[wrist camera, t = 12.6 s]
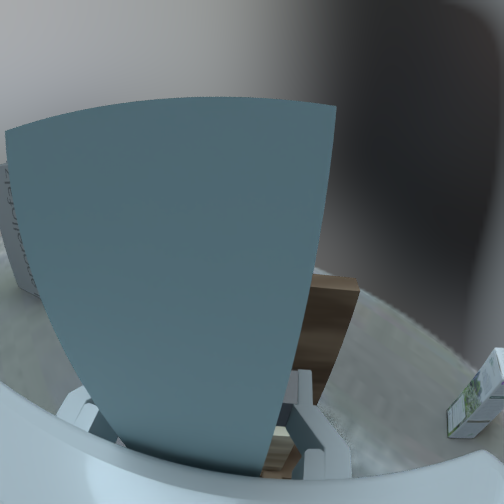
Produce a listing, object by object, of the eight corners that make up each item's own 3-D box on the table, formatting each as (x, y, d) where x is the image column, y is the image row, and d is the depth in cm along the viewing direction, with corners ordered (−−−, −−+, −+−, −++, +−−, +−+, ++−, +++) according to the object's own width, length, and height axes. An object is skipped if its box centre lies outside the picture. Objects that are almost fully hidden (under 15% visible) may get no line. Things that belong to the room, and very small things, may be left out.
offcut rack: (304, 536, 17) (406, 501, 7) (141, 510, 19) (33, 433, 8) (308, 409, 34) (355, 278, 24) (180, 392, 35) (156, 256, 25)
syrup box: (473, 439, 24) (531, 379, 18) (445, 438, 26) (504, 376, 19) (471, 411, 29) (521, 349, 22) (444, 409, 31) (494, 345, 24)
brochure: (18, 286, 51) (-12, 167, 37) (32, 276, 55) (7, 160, 41) (48, 302, 48) (14, 163, 34) (64, 289, 53) (36, 156, 39)
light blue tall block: (246, 513, 10) (336, 106, 2) (176, 500, 11) (5, 130, 2) (259, 421, 17) (299, 113, 8) (201, 413, 17) (179, 109, 8)
